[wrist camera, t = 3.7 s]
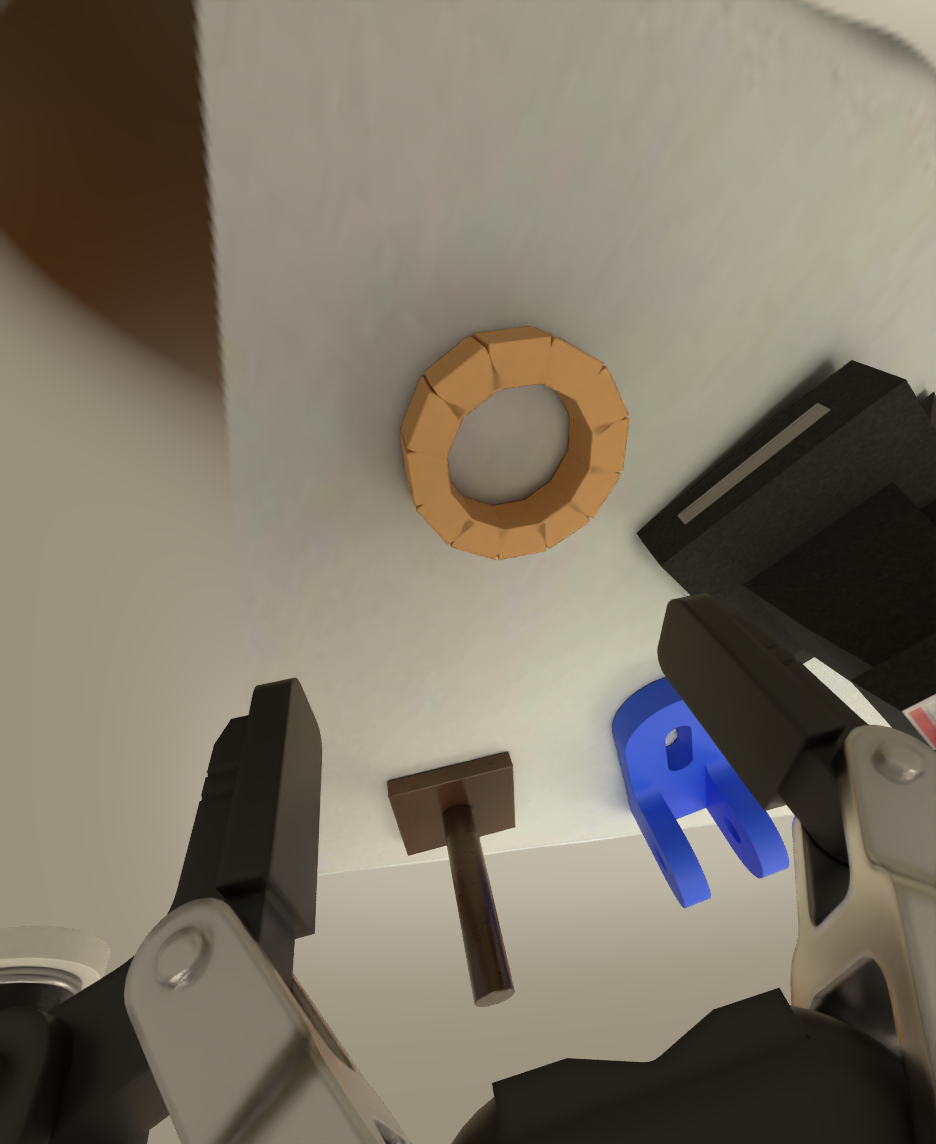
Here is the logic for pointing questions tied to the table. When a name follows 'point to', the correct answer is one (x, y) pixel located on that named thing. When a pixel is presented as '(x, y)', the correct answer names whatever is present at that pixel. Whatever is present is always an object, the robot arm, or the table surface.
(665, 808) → the bracket
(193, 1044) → the robot arm
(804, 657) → the camera
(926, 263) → the table surface
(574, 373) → the orange segmented ring
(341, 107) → the table surface
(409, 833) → the brown peg stand
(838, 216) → the table surface
